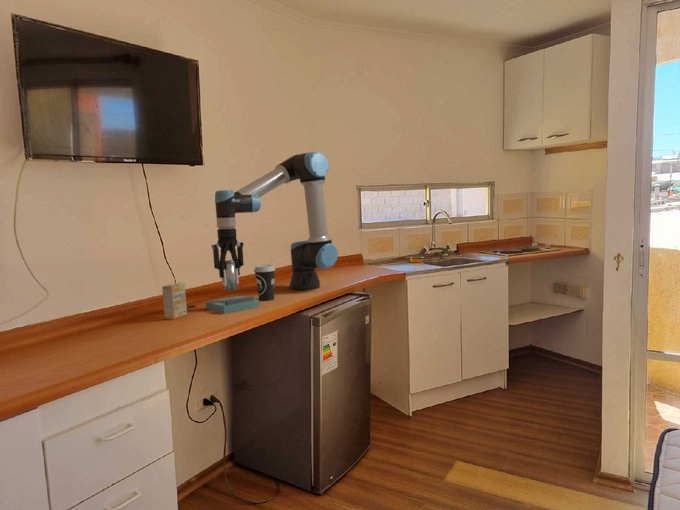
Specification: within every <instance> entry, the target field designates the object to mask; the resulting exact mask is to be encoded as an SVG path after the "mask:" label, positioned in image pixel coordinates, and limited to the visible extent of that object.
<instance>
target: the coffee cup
mask: <svg viewBox="0 0 680 510" xmlns="http://www.w3.org/2000/svg"><path fill="white" fill-rule="evenodd" d="M275 271H276V267H275V266H274V265H273V264H261V265H256V266H255V267H254V269H253V272H254V274H255V281H256V286H257V287H256V288H257V293H258V300H259V302H260V301H261V302H269V301H273V300H275Z"/></svg>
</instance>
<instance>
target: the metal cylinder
mask: <svg viewBox="0 0 680 510" xmlns="http://www.w3.org/2000/svg"><path fill="white" fill-rule="evenodd" d="M224 270H226V281H227V286H224V290H225V291H226V292H227V291H230V292H231V291H236V290H237V289H238V287H237V285H238V284H236V270H235V260H232V259H228V260H225V265H224Z"/></svg>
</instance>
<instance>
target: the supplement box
mask: <svg viewBox="0 0 680 510" xmlns="http://www.w3.org/2000/svg"><path fill="white" fill-rule="evenodd" d="M161 289H162V301H163V311H164V312H163V313H164V320H176V319H180V318H182V317H185V316H187V315H188V310H187V309H188V308H187V297H186V284H185V282H175V283H170V284H167V285H166V284H165V285H162V286H161Z"/></svg>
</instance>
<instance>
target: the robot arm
mask: <svg viewBox="0 0 680 510" xmlns="http://www.w3.org/2000/svg"><path fill="white" fill-rule="evenodd" d="M329 167H330V165H329V162H328V159H327V157H326V156H325V155H324V154H323V153H322V152H319V151H309V152H305V153H297V154H295V155H292V156H291V157H288V158H287V159H286V160H283V161H282V162H281V163H279V164H277V165H276V166H275V167H274V169H273V170H272V171H269V172H267V173H266V174H264V175H263V176H260V177H258V178H257V179H255V180H253V181H252V182H249V183H248V184H247V185H245V186H243V187H242V188H240V189H238V190H236V191H235V192H234V190H232V189H227V190H226V189H224V190H223V189H221V190H216V191H215V193H214V205H215V215H216V227H217V239H218V240H217V242H216V243H214V244H211V249H212V253H213V254H212V255H213V265H214V266H213V268H214V269H216V270H218V272H219V273H218V274H219V278H221V286H224V287H225V286H227V281H226V270H224V265H225V261H226V257H227V254H228V252H229V253H230V255H231V260H235V270H236V285H239V284H240V283H239V282H240V281H239V276H240V275H241V271H240V268H242V267H243V266H244V250H243V249H244V248H243V247H244V242H242V241H238V239H237V229H236V227H237V225H236V214H244V213H245V214H246V213H247V214H248V213H250V214H251V213H252V214H253V213H257V212H259V211H260V209H261V205H262V204H261V202H262V201H261V199H260V198H262V197H263V196H264V195H266V194H268V193H270V192H271V191H272V190H273V191H274V189H277V188H278V187H280V186H281V185H283V184H286V185H287V184H289V183H290V182H293V181H297V180H299V183H300V184H301V185H302V186H303V188H304V189H303V190H304V197H305V207H306V215H307V216H306V217H307V225H308V233H309V235H308V236H309V238H308V239H307V240H302V241H295V242H292V243H291V244H290V259H291V260H290V261H291V272H292V273H291V277H290V282H289V289H290V290H295V291H303V290H304V291H305V290H306V291H307V290H312V289H313V290H314V289H318V288H320V287H321V281H320V279H319V277H318V273H317V269H321V270H323V269H330V268H332V267H333V266H334V265H335V264H336V262H337V260H338V256H339V253H338V249H337V247H336V245H335V244H333V241H332V238H331V237H330V236H329V235H328V225H327V224H328V223H327V217H326V216H327V215H326V207H325V197H324V187H323V184H324V183H325V182H326V175H327V174H328V172H329ZM219 248H220V250H219ZM236 248H237V249H236ZM219 251H220V252H219Z"/></svg>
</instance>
